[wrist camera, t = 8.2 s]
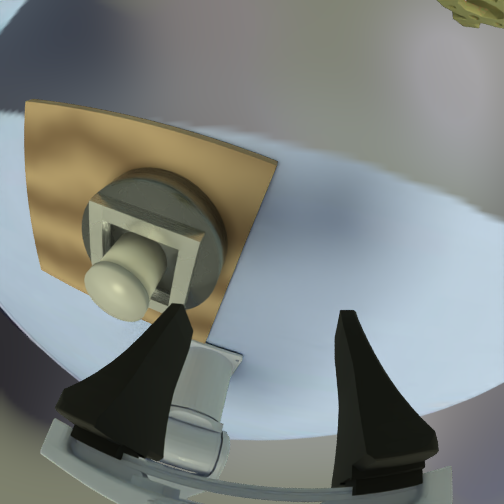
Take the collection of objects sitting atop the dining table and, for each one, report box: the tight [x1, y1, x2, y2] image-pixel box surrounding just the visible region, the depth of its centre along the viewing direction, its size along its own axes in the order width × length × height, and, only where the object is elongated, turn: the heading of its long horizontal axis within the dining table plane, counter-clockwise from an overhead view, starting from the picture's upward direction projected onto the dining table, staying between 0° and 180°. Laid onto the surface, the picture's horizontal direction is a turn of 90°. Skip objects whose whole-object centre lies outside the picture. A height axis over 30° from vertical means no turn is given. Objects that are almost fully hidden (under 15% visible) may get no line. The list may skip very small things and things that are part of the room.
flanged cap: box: [84, 232, 167, 322], centre depth 18 cm, size 5×5×4 cm
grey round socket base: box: [82, 167, 228, 313], centre depth 21 cm, size 12×12×4 cm
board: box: [24, 99, 278, 344], centre depth 24 cm, size 22×24×1 cm
